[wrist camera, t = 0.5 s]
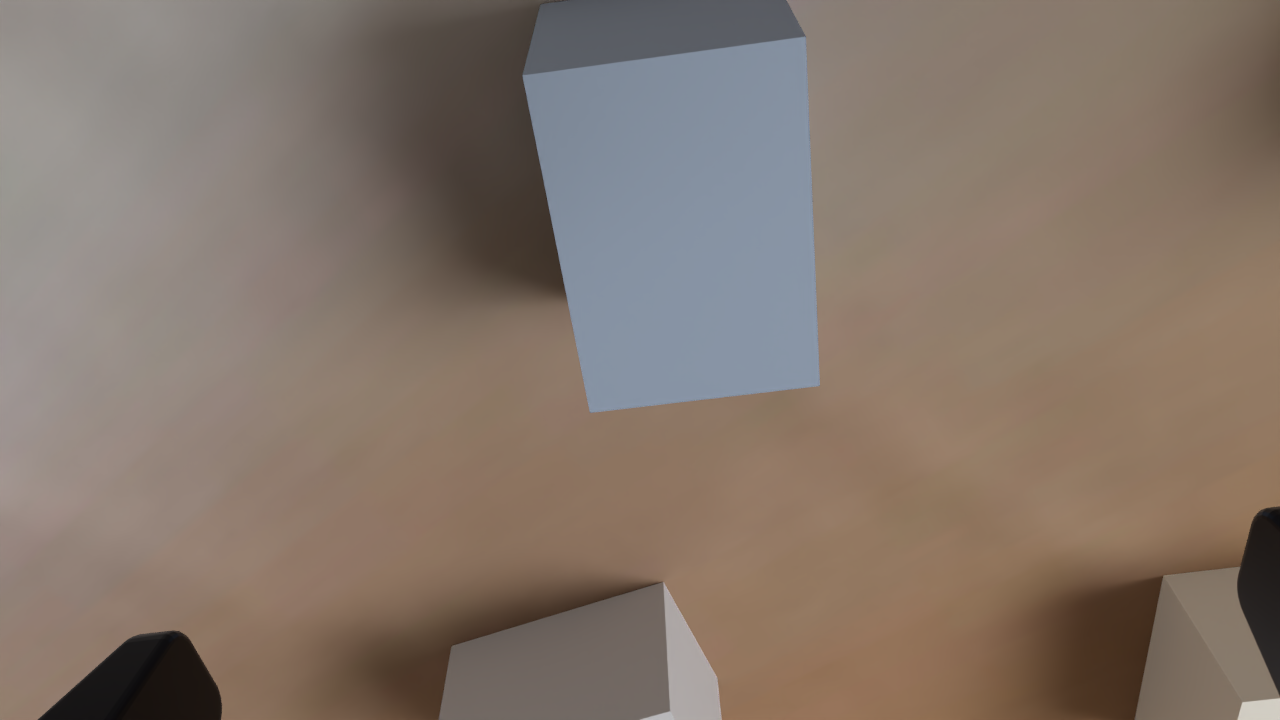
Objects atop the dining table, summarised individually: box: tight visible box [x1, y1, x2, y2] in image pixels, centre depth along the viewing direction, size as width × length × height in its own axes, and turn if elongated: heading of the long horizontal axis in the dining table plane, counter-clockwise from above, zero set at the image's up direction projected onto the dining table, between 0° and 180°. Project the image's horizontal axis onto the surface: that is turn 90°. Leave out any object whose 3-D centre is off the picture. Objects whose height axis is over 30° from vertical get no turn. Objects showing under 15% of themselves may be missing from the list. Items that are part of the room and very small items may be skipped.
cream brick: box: [1135, 567, 1280, 720], centre depth 25 cm, size 6×4×4 cm, turn 8°
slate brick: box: [522, 0, 820, 413], centre depth 17 cm, size 6×4×4 cm, turn 8°
